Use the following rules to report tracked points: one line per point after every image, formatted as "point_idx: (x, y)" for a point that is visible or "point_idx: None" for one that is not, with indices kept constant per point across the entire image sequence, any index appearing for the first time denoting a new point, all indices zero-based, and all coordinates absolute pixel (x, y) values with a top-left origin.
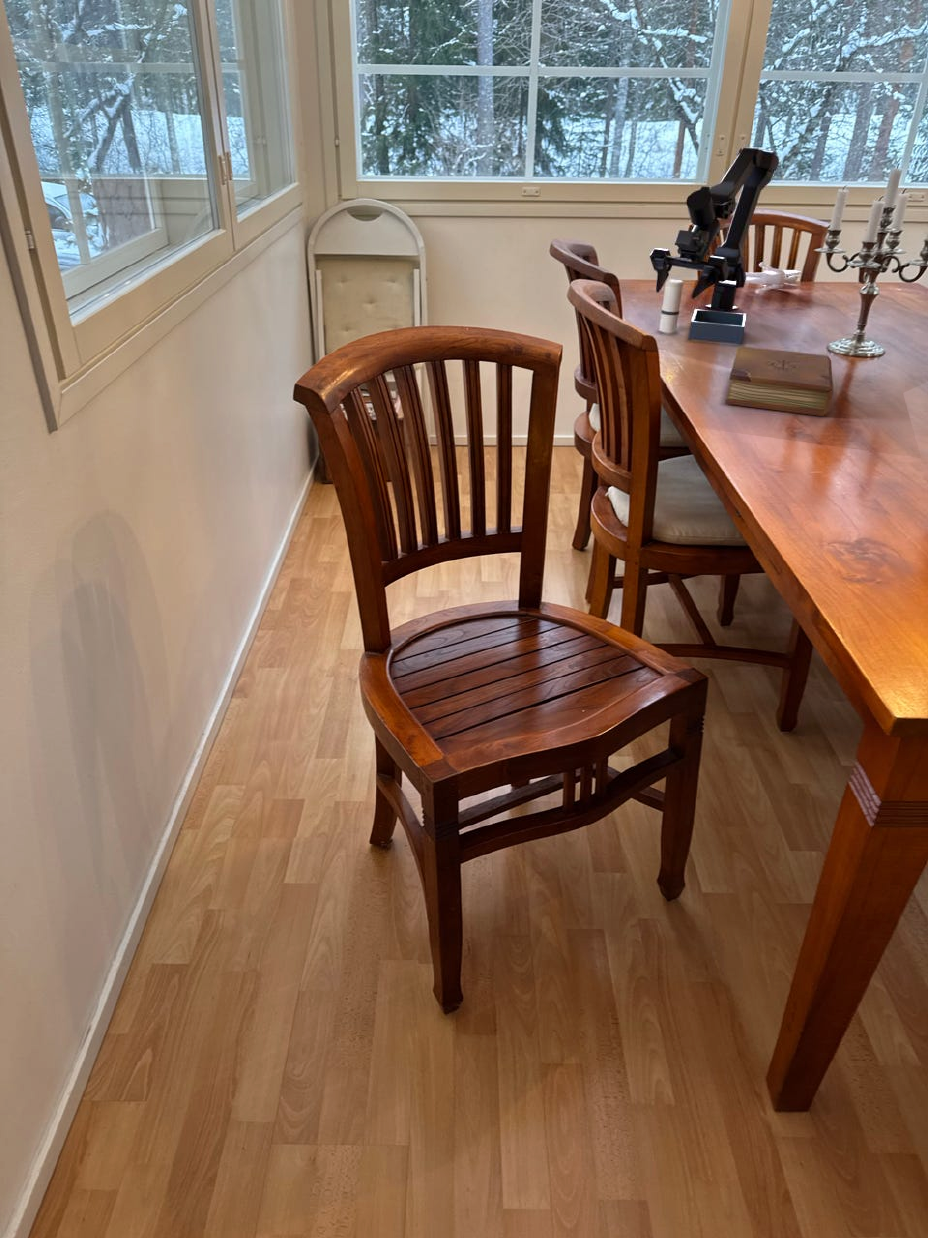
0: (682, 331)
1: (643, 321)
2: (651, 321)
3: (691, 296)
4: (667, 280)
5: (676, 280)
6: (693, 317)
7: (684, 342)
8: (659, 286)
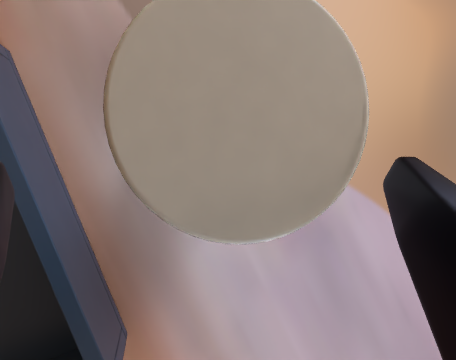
0: (136, 232)
1: (378, 270)
2: (350, 300)
3: (1, 162)
4: (347, 79)
5: (247, 174)
6: (2, 144)
7: (15, 18)
8: (417, 196)
